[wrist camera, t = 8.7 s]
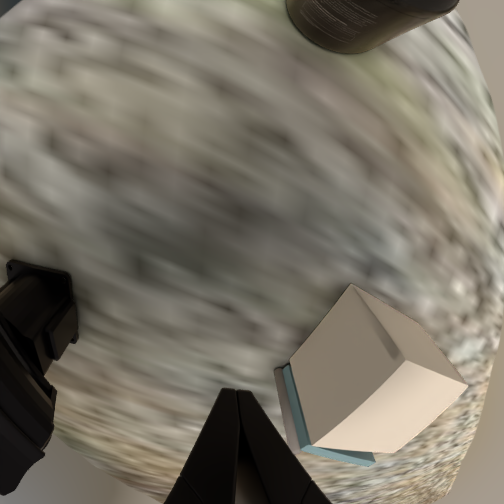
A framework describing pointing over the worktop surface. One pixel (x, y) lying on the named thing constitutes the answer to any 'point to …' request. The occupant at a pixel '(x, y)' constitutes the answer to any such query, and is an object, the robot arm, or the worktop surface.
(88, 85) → the worktop surface
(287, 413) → the flap
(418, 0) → the supplement bottle
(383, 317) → the carton
